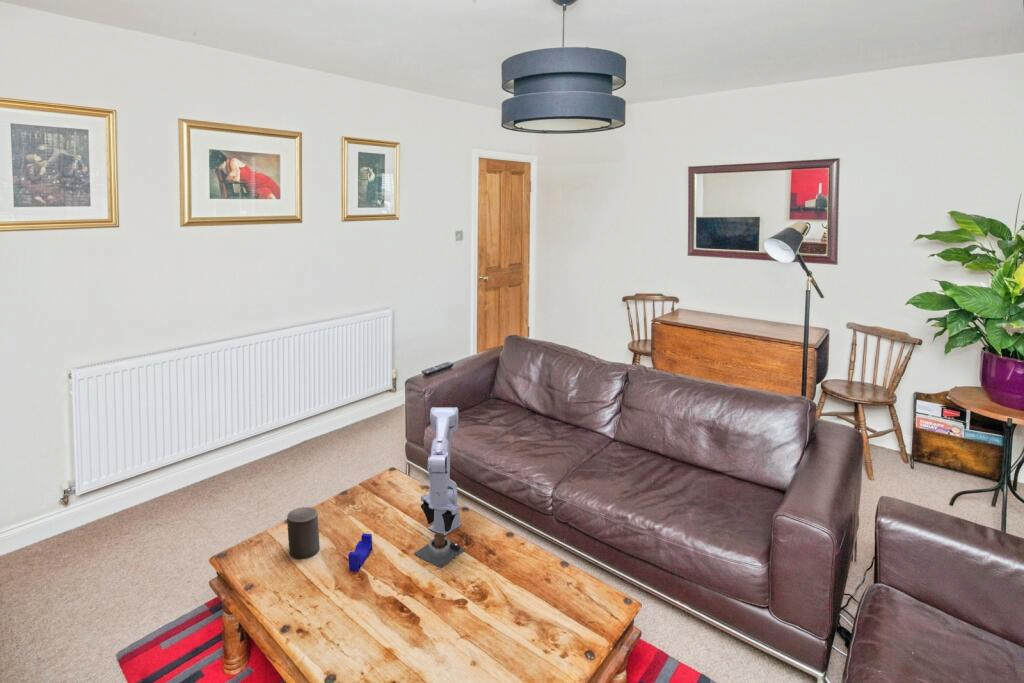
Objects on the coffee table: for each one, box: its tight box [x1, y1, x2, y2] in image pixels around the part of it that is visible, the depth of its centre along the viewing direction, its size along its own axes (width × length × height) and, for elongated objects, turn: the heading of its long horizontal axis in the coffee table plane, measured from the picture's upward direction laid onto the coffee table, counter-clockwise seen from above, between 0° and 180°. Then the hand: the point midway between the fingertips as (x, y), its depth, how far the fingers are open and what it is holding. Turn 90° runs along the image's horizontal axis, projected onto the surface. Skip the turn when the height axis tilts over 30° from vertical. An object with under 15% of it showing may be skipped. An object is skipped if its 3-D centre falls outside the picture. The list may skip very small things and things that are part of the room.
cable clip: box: [347, 532, 373, 572], centre depth 193 cm, size 12×4×6 cm, turn 171°
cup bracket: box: [413, 537, 466, 569], centre depth 197 cm, size 12×12×4 cm
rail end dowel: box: [433, 532, 446, 548], centre depth 197 cm, size 4×4×6 cm
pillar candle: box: [286, 506, 321, 560], centre depth 196 cm, size 10×10×15 cm
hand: (439, 526), depth 195 cm, fingers open, 7 cm apart
